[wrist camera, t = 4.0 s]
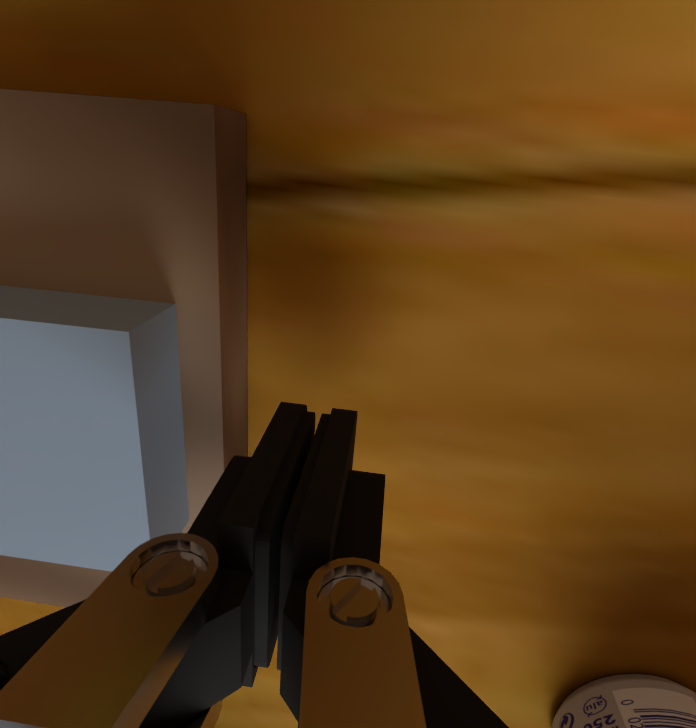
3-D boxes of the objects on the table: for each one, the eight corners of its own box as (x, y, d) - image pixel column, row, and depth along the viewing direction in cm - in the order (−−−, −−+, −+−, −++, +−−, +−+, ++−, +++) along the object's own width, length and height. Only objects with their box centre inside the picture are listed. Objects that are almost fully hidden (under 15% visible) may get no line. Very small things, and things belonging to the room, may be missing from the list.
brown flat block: (248, 579, 16) (228, 632, 15) (-31, 538, 17) (-83, 583, 15) (246, 114, 11) (214, 104, 9) (-158, 84, 12) (-262, 69, 10)
